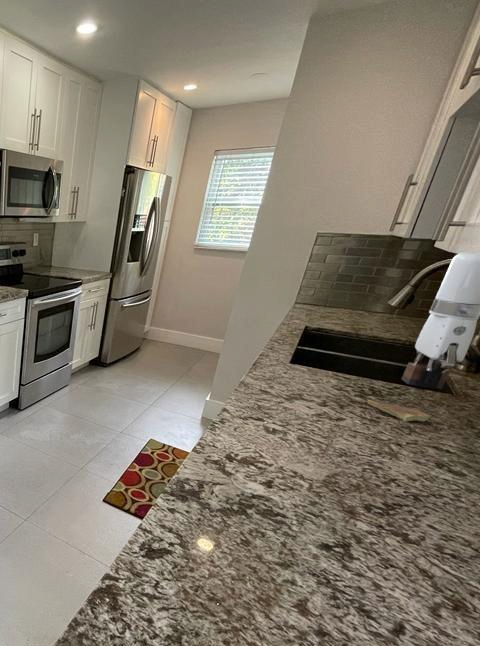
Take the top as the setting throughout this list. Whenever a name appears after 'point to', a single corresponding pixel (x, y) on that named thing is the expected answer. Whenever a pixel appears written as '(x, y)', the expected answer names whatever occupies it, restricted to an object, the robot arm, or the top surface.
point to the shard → (399, 411)
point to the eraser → (415, 372)
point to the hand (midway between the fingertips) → (421, 383)
